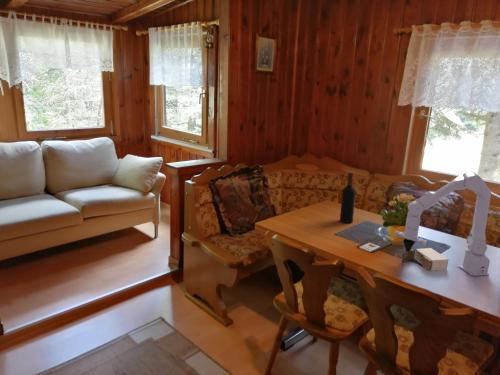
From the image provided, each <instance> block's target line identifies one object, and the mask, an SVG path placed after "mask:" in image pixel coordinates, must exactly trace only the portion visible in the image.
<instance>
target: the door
mask: <svg viewBox="0 0 500 375" xmlns="http://www.w3.org/2000/svg"><path fill="white" fill-rule="evenodd" d="M415 255H416V248H413V249H411V250H409V251H406V250H405V251H403V252H402V258H401V261H402V262H403V263H404V262H408V261H413V260H415V259H414V258H415Z"/></svg>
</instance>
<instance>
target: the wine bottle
mask: <svg viewBox="0 0 500 375" xmlns="http://www.w3.org/2000/svg"><path fill="white" fill-rule="evenodd" d="M353 179H354V173H353V172H348V173H347V185H346V186H345V187H344V188H343V189H342V193H341V202H340V203H341V205H340V216H339V222H340V223H342V224H346V225H347V224H349V225H351V224H353V222H354V213H355V212H354V210H355V203H356V202H355V200H356V189H355V188H354V187H353Z"/></svg>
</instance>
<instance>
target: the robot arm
mask: <svg viewBox="0 0 500 375" xmlns="http://www.w3.org/2000/svg"><path fill="white" fill-rule="evenodd" d="M466 189H467V190H469V191H470V192H473V193H474V194H475V195H476V200H475V205H474V214H473V220H472V224H471V225H472V226H471V229H470V231H469V235H468V236H467V238H466V243H467V247H466V248H465V253H464V256H463V257H464V258H463V262H462V264H458V265H457V267H458V268H460V269H461V270H463V271H464V272H466V273H468V274H469V275H471V276H473V277H477V276H489V275H490V273H489V267H490V263H491V262H490V258H488V257H487V256H486V254H485V253H486V252H487V250H488V246H487V242H486V241H487V237H486V228H487V222H488V215H489V210H490V204H491V196H492V192H491V190H490V188H489V186H488V185H487V183H486V181H485V180H484V179H483V178H481V176H479V175H478V174H477V173H476V172H474V171H465V173H463V174H460V175H459V176H457V177H455V178H454V179H452V180H451V181H450V182H448V183H447V184H445V185H443V186H441V187H440V188H439V189H437V190H436V191H434V192H433V191H429V192H428V191H426V192H424V195H422V196H421V197H418V198H415V199H414V200H413V201H410V202H409V203H408V205H407V210H408V211H407V216H406V220H405V226H404V227H405V228H404V231H400V230H396V231H395V232H394V236H396V237H400V238H403V241H402V242H403V244H404V247H405V251H409V250H412V247H413V246H414V245H415V244H416V243H418V244H420V245H422V246H426V245H427V243H428V240H427V239H423V238H421V237H419V236H418V235H419V229H420V223H421V216H422V214H423V211H427V210H428V209H430V208H432V207H433V206H434V205H436V204H438V203H439V200H440V198H443V197H444V196H447V195H449V194H451V193H452V192H454V191H456V190H462V191H465V190H466Z"/></svg>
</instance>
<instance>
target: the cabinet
mask: <svg viewBox="0 0 500 375" xmlns="http://www.w3.org/2000/svg"><path fill="white" fill-rule="evenodd" d="M413 260H416V261H417V262H418V263H419V264H421V266H422V267H423V268H424V269H426V270H427V271H445V270H448V264H449V258H448V257H446V256H444V255H443V254H441V253H439V252H438V251H436V250H434V249H433V248H432V247H427V248H415V256H414V259H413Z"/></svg>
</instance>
